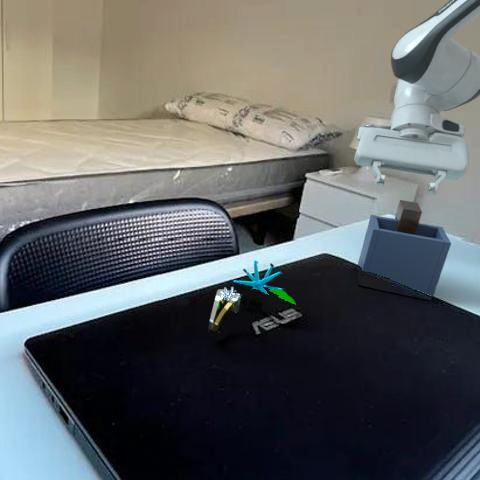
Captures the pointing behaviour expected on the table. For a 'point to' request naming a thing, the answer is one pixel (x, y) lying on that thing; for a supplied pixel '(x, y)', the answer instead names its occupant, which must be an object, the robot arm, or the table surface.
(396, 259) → the box
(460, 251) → the table surface
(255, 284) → the blue flower
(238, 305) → the ring
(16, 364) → the table surface
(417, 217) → the brown wooden block
